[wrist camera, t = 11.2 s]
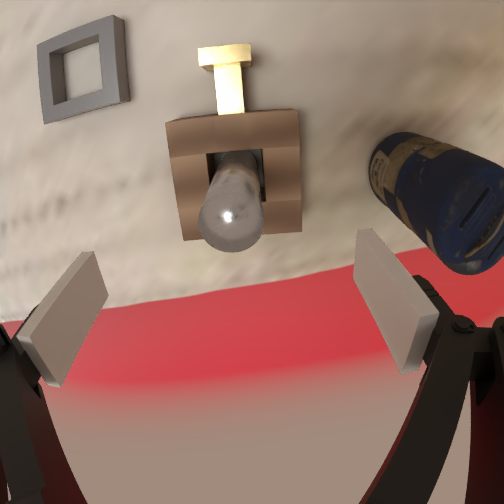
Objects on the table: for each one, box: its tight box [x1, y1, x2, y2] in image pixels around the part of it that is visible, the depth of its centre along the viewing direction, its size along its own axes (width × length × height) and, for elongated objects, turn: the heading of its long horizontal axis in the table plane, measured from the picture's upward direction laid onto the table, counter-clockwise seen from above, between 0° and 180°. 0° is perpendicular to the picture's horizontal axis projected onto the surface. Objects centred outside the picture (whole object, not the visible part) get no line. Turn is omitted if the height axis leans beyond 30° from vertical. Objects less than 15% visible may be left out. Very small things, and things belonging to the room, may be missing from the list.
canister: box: [369, 132, 504, 275], centre depth 25 cm, size 10×10×18 cm
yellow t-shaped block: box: [198, 43, 251, 115], centre depth 27 cm, size 10×4×6 cm, turn 4°
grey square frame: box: [37, 15, 130, 124], centre depth 25 cm, size 10×10×3 cm
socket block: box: [165, 109, 302, 241], centre depth 31 cm, size 12×12×5 cm
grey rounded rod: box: [198, 150, 264, 252], centre depth 26 cm, size 4×4×16 cm
